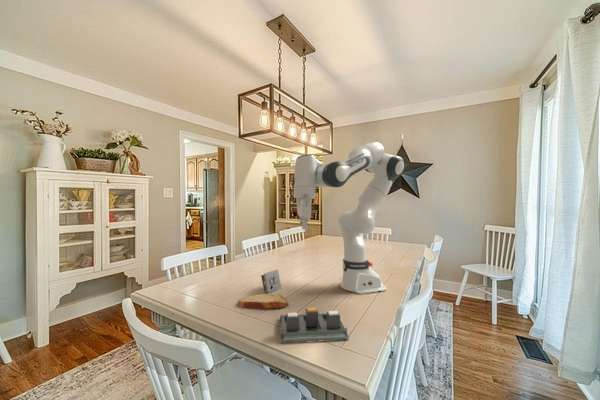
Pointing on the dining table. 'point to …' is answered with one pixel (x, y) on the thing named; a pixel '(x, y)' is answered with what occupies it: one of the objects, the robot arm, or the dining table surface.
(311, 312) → the breaker mid
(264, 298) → the slice of bread
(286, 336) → the panel
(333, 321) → the breaker
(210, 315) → the dining table surface
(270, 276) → the electrical switch
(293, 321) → the breaker
